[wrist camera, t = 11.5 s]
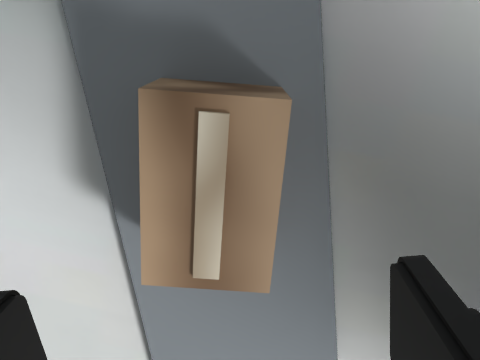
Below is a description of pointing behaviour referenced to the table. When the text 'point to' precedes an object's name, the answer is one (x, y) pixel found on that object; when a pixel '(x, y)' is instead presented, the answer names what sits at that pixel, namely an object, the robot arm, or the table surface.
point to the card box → (210, 182)
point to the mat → (294, 177)
